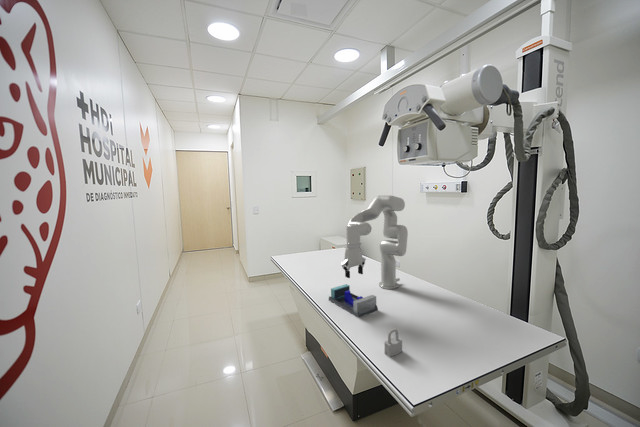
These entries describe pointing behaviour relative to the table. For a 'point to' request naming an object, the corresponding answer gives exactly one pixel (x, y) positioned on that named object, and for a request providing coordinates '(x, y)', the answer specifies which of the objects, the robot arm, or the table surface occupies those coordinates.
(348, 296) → the blue curved block
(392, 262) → the robot arm
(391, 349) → the padlock
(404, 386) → the table surface
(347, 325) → the table surface
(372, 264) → the table surface
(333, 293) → the block
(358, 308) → the vise base
